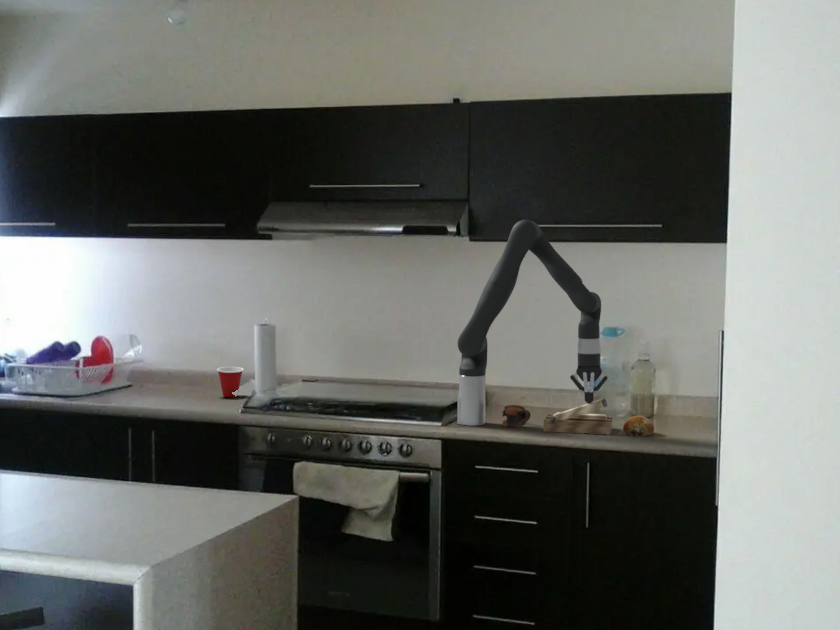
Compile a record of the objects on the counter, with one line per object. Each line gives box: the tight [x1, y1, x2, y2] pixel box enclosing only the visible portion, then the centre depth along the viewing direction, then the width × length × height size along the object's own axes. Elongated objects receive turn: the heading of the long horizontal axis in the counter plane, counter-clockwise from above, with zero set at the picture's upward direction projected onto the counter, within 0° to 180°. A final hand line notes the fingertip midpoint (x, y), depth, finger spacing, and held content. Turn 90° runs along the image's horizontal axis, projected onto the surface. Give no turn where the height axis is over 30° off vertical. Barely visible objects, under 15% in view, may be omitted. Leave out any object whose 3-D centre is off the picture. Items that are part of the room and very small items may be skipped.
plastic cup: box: [216, 366, 244, 398], centre depth 378 cm, size 11×11×12 cm
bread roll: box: [622, 415, 655, 437], centre depth 305 cm, size 10×10×8 cm
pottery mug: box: [501, 404, 531, 428], centre depth 318 cm, size 12×10×8 cm
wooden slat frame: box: [543, 411, 613, 436], centre depth 311 cm, size 22×12×5 cm, turn 75°
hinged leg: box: [550, 397, 608, 420], centre depth 308 cm, size 20×3×2 cm, turn 75°
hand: (589, 403), depth 307 cm, fingers closed
